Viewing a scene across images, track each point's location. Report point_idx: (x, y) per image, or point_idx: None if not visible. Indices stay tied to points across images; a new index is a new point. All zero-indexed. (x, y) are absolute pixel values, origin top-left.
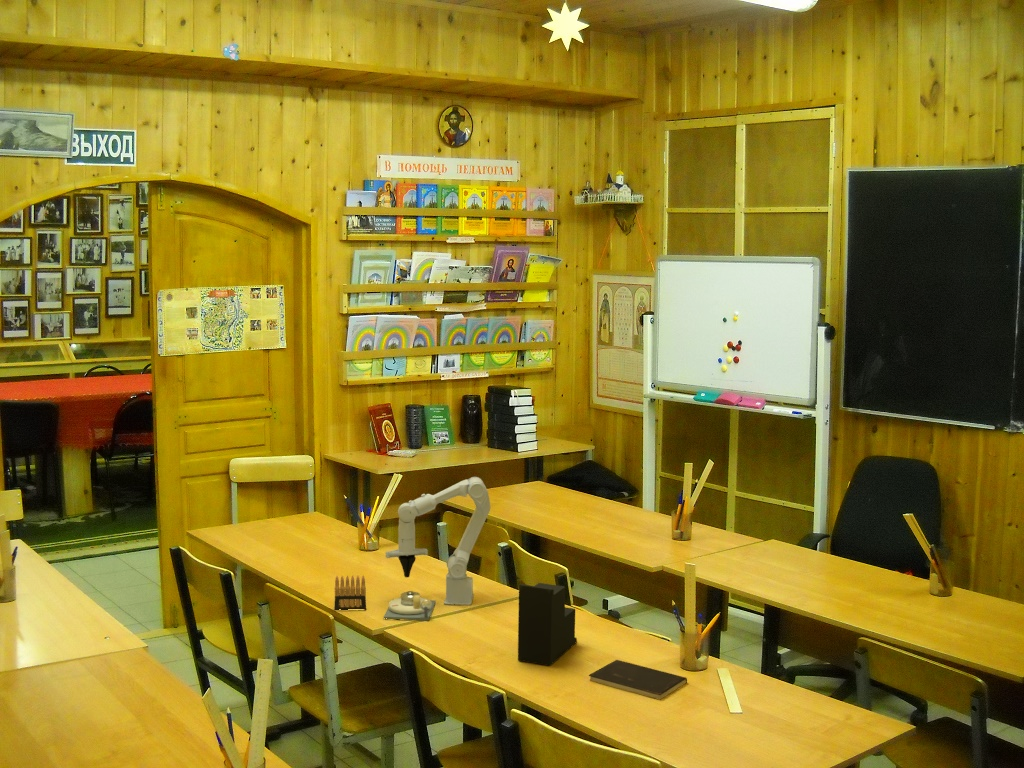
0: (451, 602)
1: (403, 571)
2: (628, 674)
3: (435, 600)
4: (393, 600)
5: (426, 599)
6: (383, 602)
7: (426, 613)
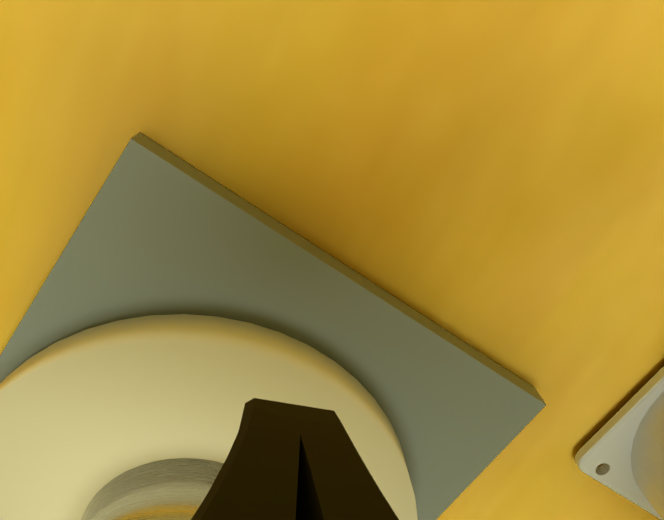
0: (638, 486)
1: (229, 452)
2: None
3: (544, 405)
4: (31, 397)
5: (403, 515)
6: (22, 79)
7: None
